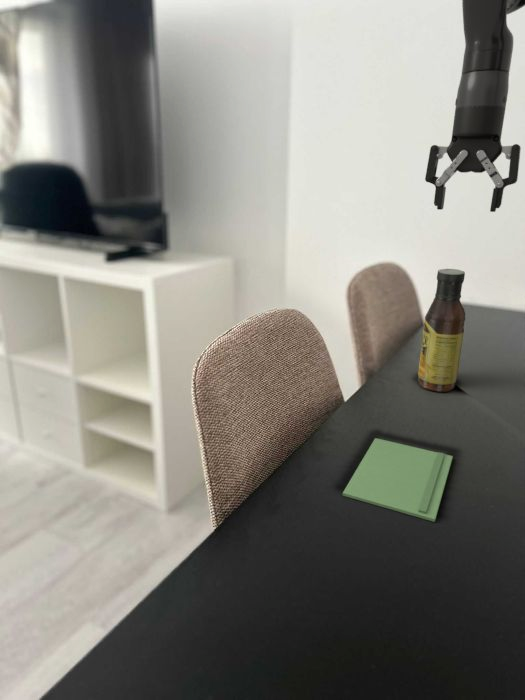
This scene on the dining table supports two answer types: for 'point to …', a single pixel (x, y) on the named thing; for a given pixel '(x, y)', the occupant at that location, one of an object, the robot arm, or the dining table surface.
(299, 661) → the dining table surface
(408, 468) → the green notebook
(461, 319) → the sauce bottle
